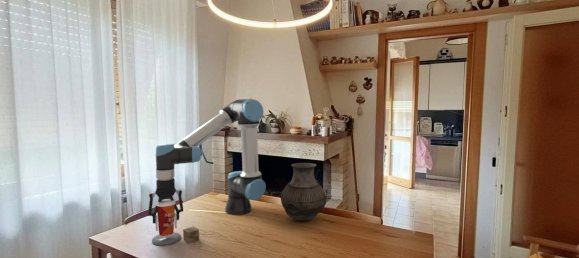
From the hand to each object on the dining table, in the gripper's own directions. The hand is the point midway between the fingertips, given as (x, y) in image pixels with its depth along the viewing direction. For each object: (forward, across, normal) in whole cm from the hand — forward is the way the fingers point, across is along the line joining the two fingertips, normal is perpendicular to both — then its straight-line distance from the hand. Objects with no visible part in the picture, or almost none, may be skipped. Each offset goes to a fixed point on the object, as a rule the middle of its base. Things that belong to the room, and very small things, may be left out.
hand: (166, 228), depth 131 cm
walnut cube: (+5, -10, +5) cm, 12 cm away
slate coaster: (+5, 0, 0) cm, 5 cm away
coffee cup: (+2, 0, 0) cm, 2 cm away
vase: (+5, -68, +4) cm, 68 cm away
